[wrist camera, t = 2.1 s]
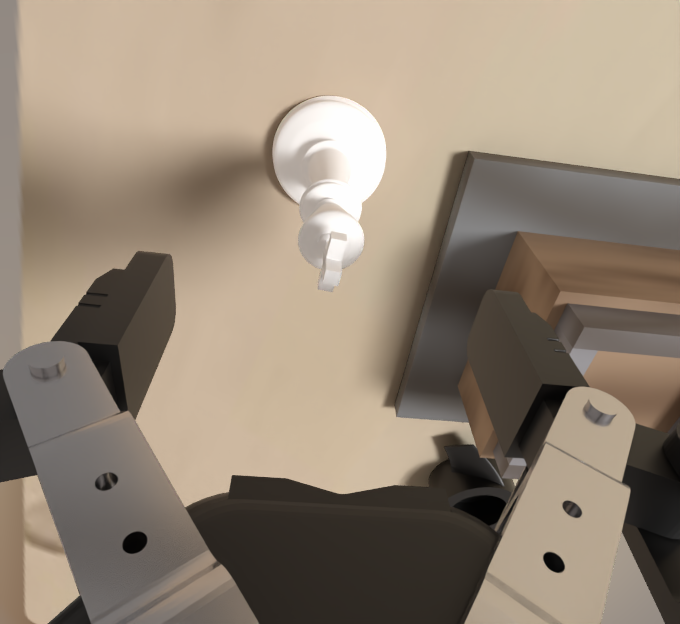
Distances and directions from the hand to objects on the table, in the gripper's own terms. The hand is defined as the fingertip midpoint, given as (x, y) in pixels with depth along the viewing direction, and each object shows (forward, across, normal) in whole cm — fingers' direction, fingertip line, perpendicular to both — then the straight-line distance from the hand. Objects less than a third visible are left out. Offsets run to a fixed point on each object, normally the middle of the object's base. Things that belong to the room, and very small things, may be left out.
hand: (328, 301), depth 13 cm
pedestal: (+11, -14, +7) cm, 19 cm away
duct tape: (+12, -13, +22) cm, 28 cm away
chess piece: (+11, 0, 0) cm, 11 cm away
